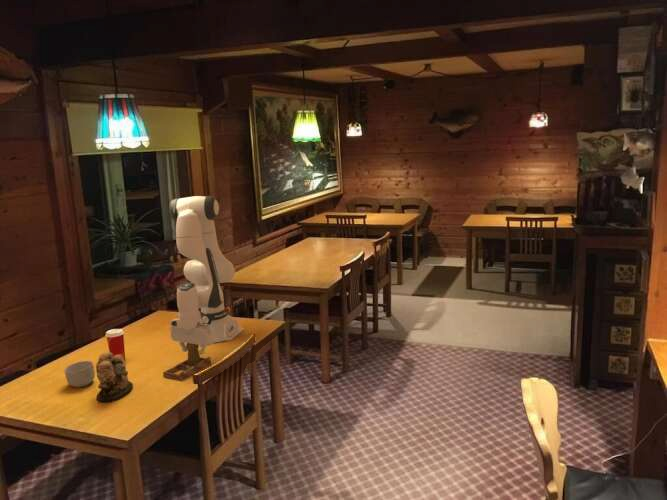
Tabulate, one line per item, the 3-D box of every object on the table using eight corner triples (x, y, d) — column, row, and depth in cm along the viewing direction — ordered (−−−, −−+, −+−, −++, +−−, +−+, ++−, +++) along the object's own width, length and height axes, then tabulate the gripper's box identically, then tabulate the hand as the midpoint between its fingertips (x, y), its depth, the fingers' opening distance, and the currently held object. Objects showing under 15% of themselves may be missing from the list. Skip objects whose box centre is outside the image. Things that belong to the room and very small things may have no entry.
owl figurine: (119, 404, 207) (113, 361, 204) (89, 405, 208) (82, 362, 205) (139, 382, 225) (133, 342, 222) (110, 383, 226) (104, 343, 222)
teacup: (92, 388, 222) (89, 369, 220) (63, 391, 220) (60, 372, 219) (100, 374, 236) (97, 356, 234) (73, 377, 234) (70, 359, 232)
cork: (197, 369, 235) (195, 344, 233) (184, 368, 237) (182, 344, 234) (204, 363, 241) (201, 339, 239) (191, 363, 242) (188, 339, 240)
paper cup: (115, 357, 253) (111, 328, 251) (131, 357, 252) (127, 328, 249) (105, 364, 246) (101, 334, 243) (121, 364, 244) (117, 334, 241)
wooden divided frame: (193, 360, 245) (192, 351, 244) (211, 363, 241) (210, 354, 240) (163, 377, 229) (162, 367, 228) (181, 380, 225) (180, 371, 224)
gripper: (214, 321, 233) (217, 353, 236) (177, 316, 242) (180, 346, 245) (204, 326, 227) (207, 358, 230) (166, 321, 237) (170, 352, 240)
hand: (193, 352), depth 238 cm, fingers open, 8 cm apart
